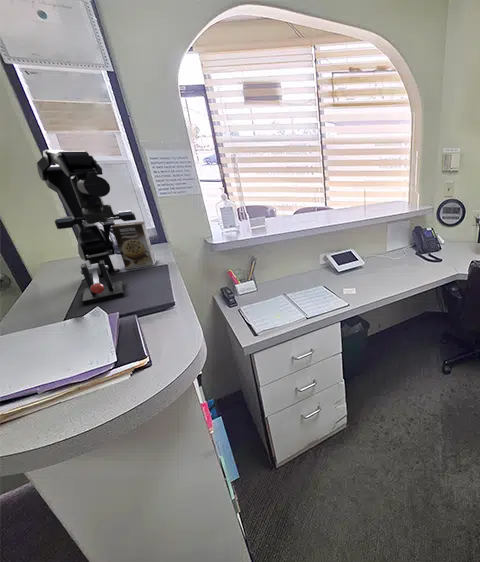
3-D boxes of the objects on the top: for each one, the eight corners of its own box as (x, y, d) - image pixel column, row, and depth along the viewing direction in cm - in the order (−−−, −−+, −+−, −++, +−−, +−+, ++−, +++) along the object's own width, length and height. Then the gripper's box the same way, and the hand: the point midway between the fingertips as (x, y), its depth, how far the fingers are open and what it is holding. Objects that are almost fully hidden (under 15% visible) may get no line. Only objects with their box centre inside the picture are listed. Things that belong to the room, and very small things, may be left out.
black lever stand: (124, 296, 91) (112, 264, 87) (83, 305, 85) (69, 272, 82) (122, 285, 99) (111, 256, 96) (85, 293, 94) (73, 262, 90)
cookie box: (125, 269, 114) (109, 226, 108) (128, 265, 119) (114, 223, 113) (154, 265, 118) (141, 223, 112) (156, 261, 123) (144, 220, 117)
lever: (106, 293, 83) (102, 285, 82) (92, 296, 82) (88, 288, 80) (102, 270, 92) (98, 262, 90) (89, 272, 90) (86, 264, 89)
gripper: (42, 201, 82) (66, 257, 88) (128, 194, 93) (144, 244, 99) (47, 198, 90) (69, 249, 96) (126, 192, 101) (141, 239, 107)
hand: (107, 245), depth 99 cm, fingers closed
